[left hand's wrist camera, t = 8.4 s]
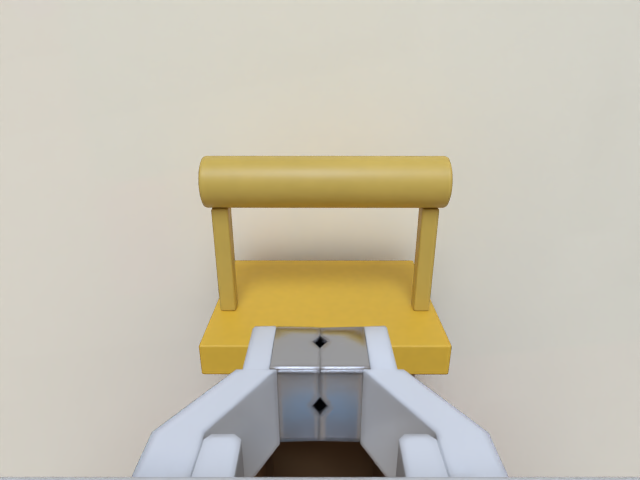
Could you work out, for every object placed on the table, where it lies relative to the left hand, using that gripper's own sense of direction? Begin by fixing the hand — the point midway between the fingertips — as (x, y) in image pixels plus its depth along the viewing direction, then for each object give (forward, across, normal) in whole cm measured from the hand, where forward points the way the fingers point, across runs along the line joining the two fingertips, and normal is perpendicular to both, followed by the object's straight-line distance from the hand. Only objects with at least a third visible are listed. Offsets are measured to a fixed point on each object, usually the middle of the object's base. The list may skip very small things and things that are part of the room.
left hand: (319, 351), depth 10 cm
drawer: (+11, 0, -8) cm, 14 cm away
